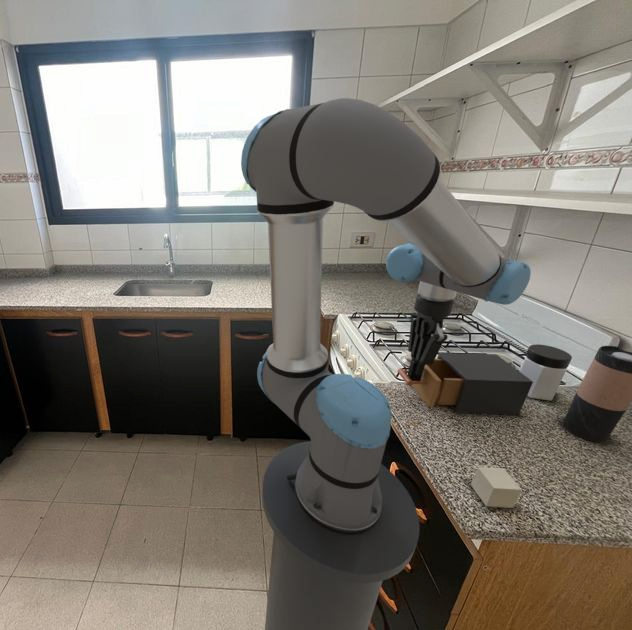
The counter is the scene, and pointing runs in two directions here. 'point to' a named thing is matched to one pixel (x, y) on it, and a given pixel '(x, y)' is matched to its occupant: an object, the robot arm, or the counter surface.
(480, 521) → the counter surface
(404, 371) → the drawer
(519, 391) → the cabinet
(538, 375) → the jar
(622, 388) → the travel mug
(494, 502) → the block
